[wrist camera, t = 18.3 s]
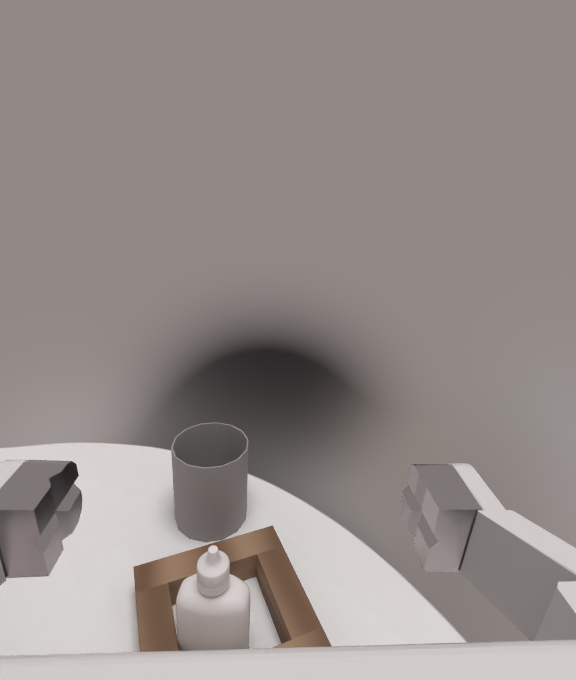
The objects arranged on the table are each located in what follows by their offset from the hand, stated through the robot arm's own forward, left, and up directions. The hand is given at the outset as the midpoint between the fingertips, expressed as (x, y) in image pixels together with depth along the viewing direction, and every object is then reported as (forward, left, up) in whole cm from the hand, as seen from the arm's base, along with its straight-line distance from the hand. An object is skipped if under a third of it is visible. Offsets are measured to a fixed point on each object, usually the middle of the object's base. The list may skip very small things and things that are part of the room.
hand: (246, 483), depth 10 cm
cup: (+6, +29, -30) cm, 42 cm away
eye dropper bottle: (+2, +14, -30) cm, 33 cm away
